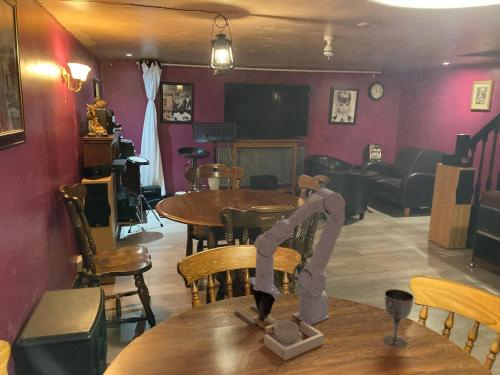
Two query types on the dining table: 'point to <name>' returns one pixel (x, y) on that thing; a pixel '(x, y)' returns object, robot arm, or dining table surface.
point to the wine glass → (397, 313)
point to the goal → (297, 348)
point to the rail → (248, 316)
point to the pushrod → (265, 320)
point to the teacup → (286, 333)
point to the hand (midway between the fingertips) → (263, 311)
